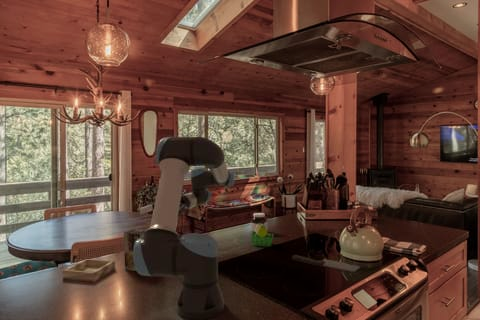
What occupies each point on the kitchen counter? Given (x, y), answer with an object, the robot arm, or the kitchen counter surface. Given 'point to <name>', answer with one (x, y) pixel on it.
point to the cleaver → (327, 263)
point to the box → (88, 270)
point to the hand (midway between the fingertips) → (149, 214)
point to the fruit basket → (262, 237)
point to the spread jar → (258, 221)
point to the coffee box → (131, 246)
